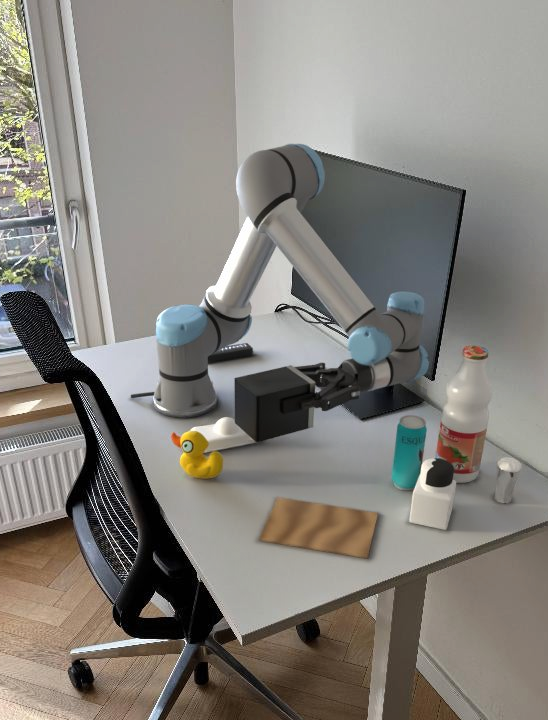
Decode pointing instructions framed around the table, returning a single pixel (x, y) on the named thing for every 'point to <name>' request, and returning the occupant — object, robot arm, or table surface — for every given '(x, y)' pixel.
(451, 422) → the fruit juice
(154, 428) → the table surface
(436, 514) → the medicine bottle
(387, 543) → the table surface
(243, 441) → the white piece
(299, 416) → the desk bin
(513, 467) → the milkshake
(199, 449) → the duckling
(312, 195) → the robot arm
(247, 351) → the multiport hub
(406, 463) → the beverage can
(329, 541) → the wooden board
